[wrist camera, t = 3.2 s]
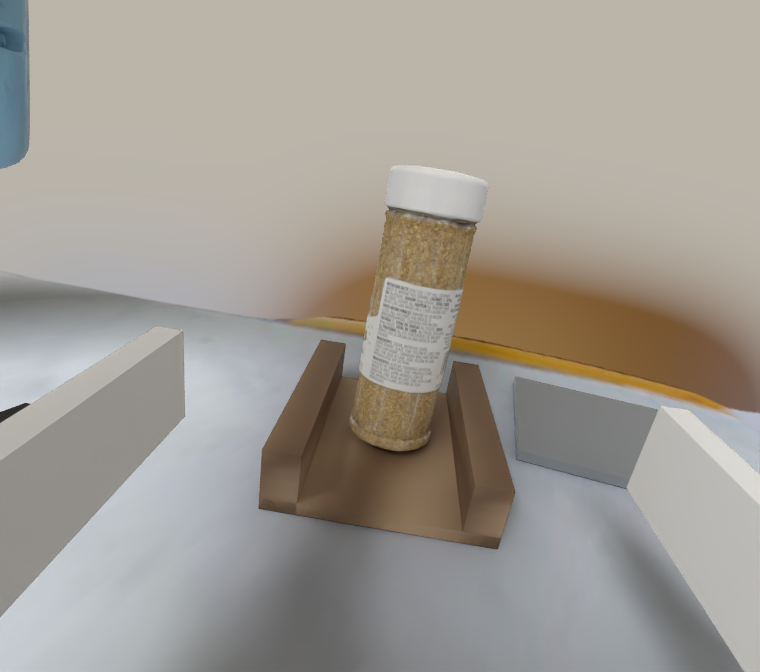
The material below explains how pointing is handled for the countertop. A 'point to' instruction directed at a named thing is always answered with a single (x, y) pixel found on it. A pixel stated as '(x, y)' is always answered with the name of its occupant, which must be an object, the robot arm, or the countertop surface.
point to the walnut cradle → (388, 461)
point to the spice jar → (414, 303)
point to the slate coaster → (579, 431)
